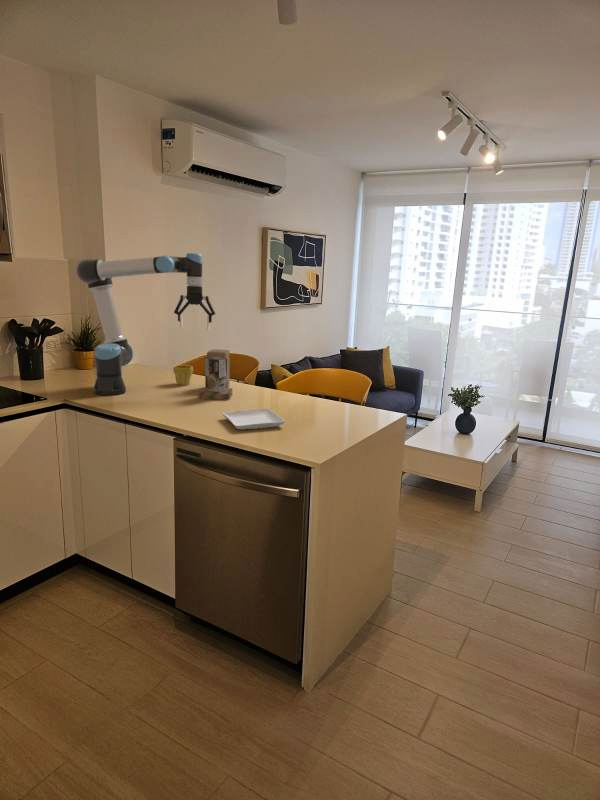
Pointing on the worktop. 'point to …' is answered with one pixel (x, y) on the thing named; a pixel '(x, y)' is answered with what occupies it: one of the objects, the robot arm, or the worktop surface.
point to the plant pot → (183, 374)
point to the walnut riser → (216, 394)
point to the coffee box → (216, 374)
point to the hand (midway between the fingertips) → (194, 328)
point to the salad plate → (253, 419)
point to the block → (221, 355)
